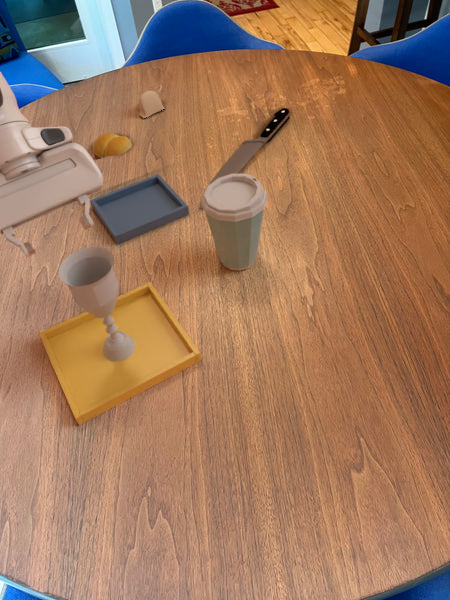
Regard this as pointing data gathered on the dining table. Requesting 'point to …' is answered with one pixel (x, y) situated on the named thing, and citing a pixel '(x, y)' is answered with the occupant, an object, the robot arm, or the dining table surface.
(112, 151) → the bread roll
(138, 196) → the slate tray
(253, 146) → the kitchen knife
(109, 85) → the dining table surface
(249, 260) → the disposable coffee cup
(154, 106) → the decorative ornament
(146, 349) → the mustard tray
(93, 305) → the chalice
